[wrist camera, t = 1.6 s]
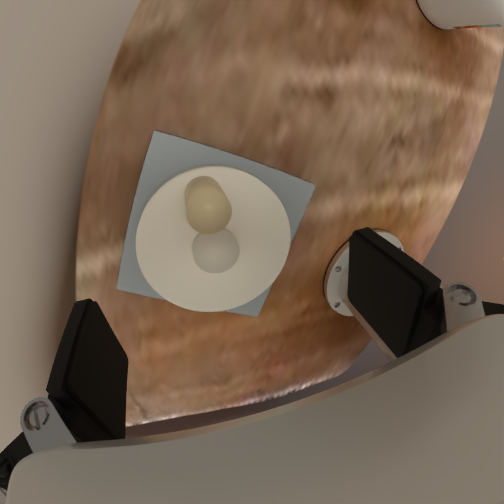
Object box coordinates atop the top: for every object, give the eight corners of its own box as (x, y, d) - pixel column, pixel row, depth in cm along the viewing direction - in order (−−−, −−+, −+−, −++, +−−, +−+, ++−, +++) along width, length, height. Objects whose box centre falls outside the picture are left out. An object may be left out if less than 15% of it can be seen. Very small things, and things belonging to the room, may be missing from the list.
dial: (305, 192, 27) (341, 216, 21) (253, 310, 32) (271, 353, 26) (161, 144, 22) (154, 154, 16) (126, 284, 27) (116, 330, 21)
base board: (309, 182, 29) (316, 185, 27) (254, 308, 34) (257, 316, 33) (155, 130, 23) (154, 130, 22) (118, 281, 28) (116, 289, 27)
